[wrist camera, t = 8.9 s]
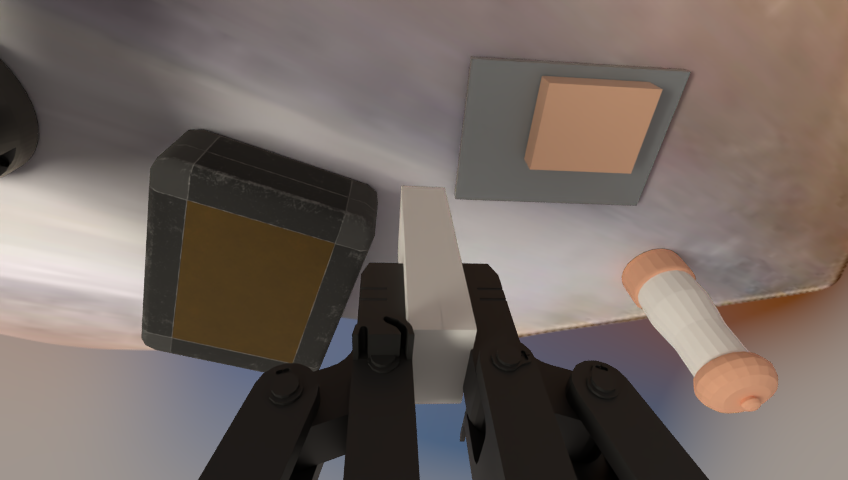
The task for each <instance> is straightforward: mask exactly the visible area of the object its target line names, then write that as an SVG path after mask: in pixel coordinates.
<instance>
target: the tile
mask: <svg viewBox="0 0 848 480" xmlns="http://www.w3.org/2000/svg"><path fill="white" fill-rule="evenodd" d="M662 90H663V89H661V88H659V87H658V86H656V85H654V84H652V83H650V82H642V81H625V80H607V79H590V78H572V77H555V76H542V78H541V82H540V87H539V92H538V96H537V101H536V106H535V110H534V115H533V120H532V124H531V129H530V134H529V138H528V143H527V148H526V152H525V157H524V160H525V161H526V163H527V165H528V167H529V169H531V170H555V171H579V172H603V173H628V174H631V172H632V170H633V167H634V164H635V162H636V159H637V156H638V154H639V151H640V148H641V146H642V143H643V140H644V138H645V135H646V132H647V130H648V127H649V124H650V122H651V119H652V117H653V114H654V111H655V109H656V106H657V103H658V101H659V98H660V95H661V93H662Z"/></svg>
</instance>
